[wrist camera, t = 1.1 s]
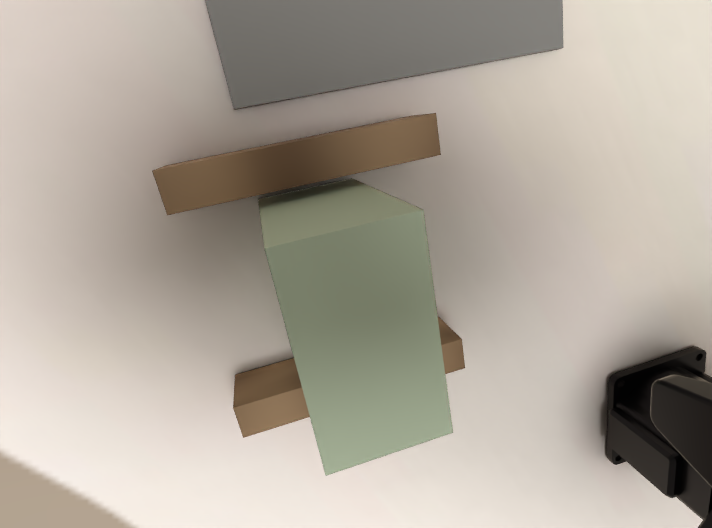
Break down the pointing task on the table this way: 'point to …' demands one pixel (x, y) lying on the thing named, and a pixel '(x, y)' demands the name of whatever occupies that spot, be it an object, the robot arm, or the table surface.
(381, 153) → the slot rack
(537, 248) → the table surface
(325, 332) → the green block
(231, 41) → the floor mat
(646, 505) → the table surface
